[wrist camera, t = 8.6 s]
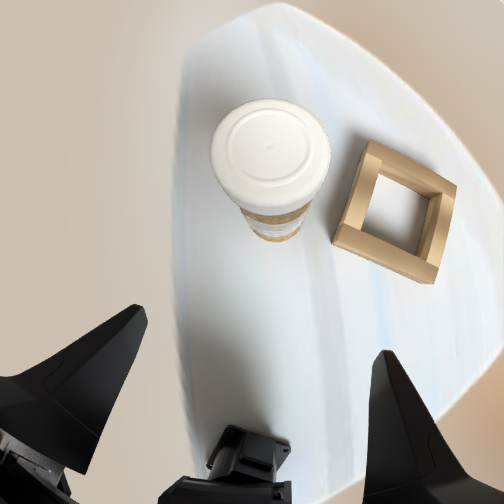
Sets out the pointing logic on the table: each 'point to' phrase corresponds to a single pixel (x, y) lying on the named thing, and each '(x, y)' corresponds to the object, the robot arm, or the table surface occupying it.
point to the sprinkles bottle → (271, 163)
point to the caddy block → (435, 223)
